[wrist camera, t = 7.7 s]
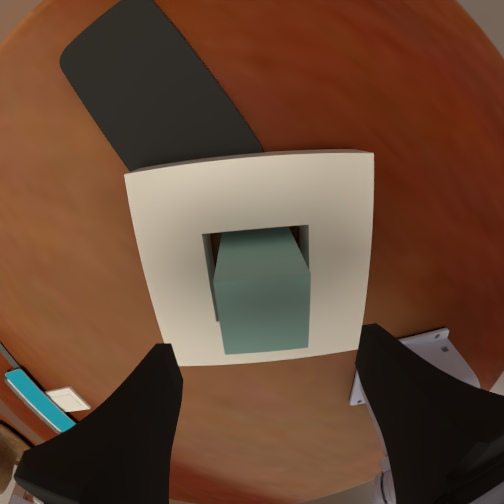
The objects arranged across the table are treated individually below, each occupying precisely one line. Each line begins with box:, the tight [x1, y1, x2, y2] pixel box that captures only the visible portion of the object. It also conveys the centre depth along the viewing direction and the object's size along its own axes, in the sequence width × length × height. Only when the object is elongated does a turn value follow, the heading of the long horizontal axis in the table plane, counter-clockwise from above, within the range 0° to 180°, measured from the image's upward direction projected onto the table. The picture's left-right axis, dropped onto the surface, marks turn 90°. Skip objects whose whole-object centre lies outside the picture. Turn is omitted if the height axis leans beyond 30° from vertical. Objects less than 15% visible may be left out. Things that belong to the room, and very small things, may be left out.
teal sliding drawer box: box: [0, 343, 91, 434], centre depth 26 cm, size 20×12×2 cm, turn 25°
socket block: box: [124, 149, 374, 366], centre depth 18 cm, size 13×13×3 cm
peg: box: [213, 226, 311, 355], centre depth 16 cm, size 4×4×7 cm
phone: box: [60, 0, 264, 172], centre depth 15 cm, size 7×1×15 cm
